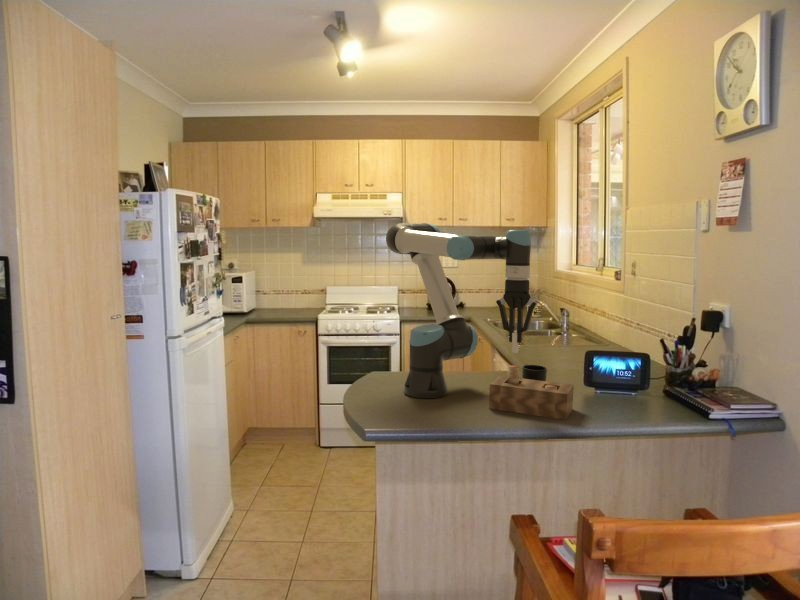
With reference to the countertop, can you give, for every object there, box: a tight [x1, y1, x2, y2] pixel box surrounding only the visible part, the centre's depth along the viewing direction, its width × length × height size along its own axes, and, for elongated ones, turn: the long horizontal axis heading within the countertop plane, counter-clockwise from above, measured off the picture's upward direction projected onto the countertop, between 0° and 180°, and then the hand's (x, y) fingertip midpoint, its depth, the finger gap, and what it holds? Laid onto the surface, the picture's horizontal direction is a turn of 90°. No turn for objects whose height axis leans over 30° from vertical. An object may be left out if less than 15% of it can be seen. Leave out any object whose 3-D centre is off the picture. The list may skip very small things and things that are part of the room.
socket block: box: [488, 375, 575, 421], centre depth 179 cm, size 24×12×8 cm, turn 64°
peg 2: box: [545, 385, 557, 390], centre depth 176 cm, size 4×4×8 cm
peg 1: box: [507, 365, 520, 385], centre depth 181 cm, size 4×4×8 cm
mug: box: [521, 364, 548, 381], centre depth 197 cm, size 8×12×10 cm
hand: (515, 352), depth 180 cm, fingers closed
